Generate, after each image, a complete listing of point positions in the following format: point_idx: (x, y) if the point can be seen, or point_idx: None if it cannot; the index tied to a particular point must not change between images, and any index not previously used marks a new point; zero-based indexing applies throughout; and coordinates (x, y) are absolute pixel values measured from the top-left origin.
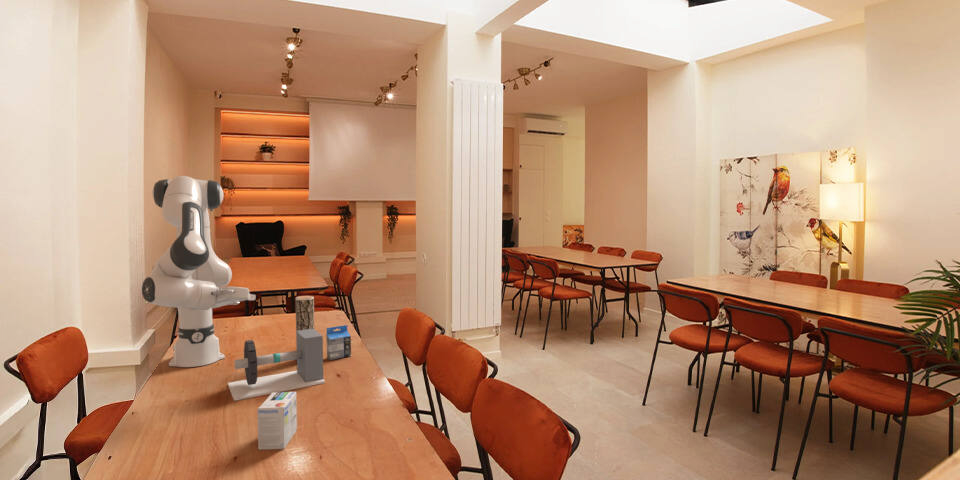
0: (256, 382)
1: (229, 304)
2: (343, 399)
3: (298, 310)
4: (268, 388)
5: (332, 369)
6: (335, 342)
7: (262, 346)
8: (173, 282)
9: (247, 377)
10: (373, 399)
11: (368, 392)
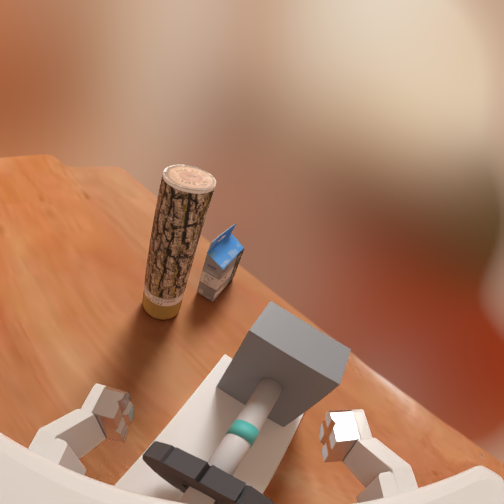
0: None
1: (89, 448)
2: (383, 441)
3: (178, 221)
4: None
5: None
6: (227, 270)
7: (28, 248)
8: None
9: None
10: (407, 417)
11: (386, 403)
